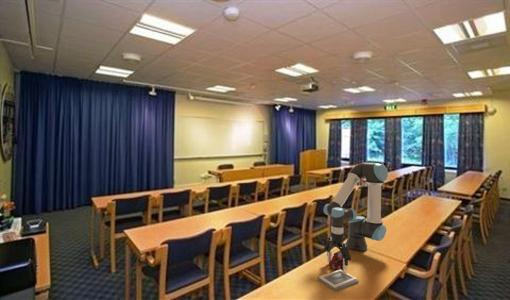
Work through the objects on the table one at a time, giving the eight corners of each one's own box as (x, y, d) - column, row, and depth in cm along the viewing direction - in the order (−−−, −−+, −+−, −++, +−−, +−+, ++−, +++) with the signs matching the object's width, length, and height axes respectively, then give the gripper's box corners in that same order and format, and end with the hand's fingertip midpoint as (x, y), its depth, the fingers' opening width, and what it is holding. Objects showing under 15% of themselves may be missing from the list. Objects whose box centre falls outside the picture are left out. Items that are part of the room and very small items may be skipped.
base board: (339, 272, 166) (339, 268, 166) (358, 282, 154) (358, 278, 154) (317, 279, 158) (317, 275, 158) (335, 291, 145) (335, 287, 145)
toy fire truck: (326, 268, 171) (326, 252, 171) (338, 262, 179) (338, 247, 178) (335, 272, 166) (336, 256, 165) (347, 266, 173) (347, 250, 173)
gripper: (319, 228, 180) (319, 259, 181) (348, 240, 159) (348, 275, 160) (327, 226, 184) (327, 257, 185) (357, 237, 162) (356, 272, 163)
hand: (337, 265), depth 172 cm, fingers open, 12 cm apart
